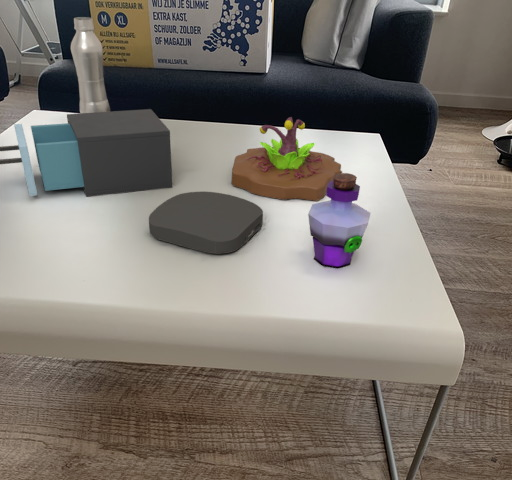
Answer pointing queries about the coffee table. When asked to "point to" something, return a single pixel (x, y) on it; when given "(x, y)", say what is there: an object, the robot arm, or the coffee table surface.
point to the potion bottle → (338, 223)
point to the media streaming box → (206, 221)
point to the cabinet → (122, 151)
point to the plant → (285, 167)
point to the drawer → (49, 157)
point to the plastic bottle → (89, 67)
